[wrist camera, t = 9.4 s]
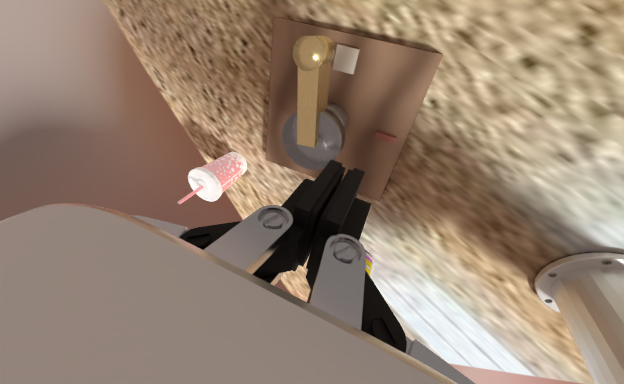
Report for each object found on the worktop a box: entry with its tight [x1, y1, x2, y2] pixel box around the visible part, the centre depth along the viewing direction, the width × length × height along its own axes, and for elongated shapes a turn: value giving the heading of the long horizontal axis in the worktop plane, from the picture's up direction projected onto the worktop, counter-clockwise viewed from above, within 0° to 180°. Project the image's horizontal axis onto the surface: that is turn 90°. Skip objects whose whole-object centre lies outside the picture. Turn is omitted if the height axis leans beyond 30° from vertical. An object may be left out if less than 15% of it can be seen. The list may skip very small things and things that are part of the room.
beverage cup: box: [178, 152, 247, 204], centre depth 40 cm, size 6×6×14 cm
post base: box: [266, 17, 443, 201], centre depth 31 cm, size 20×20×7 cm
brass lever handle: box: [282, 35, 345, 170], centre depth 25 cm, size 13×7×4 cm, turn 178°
